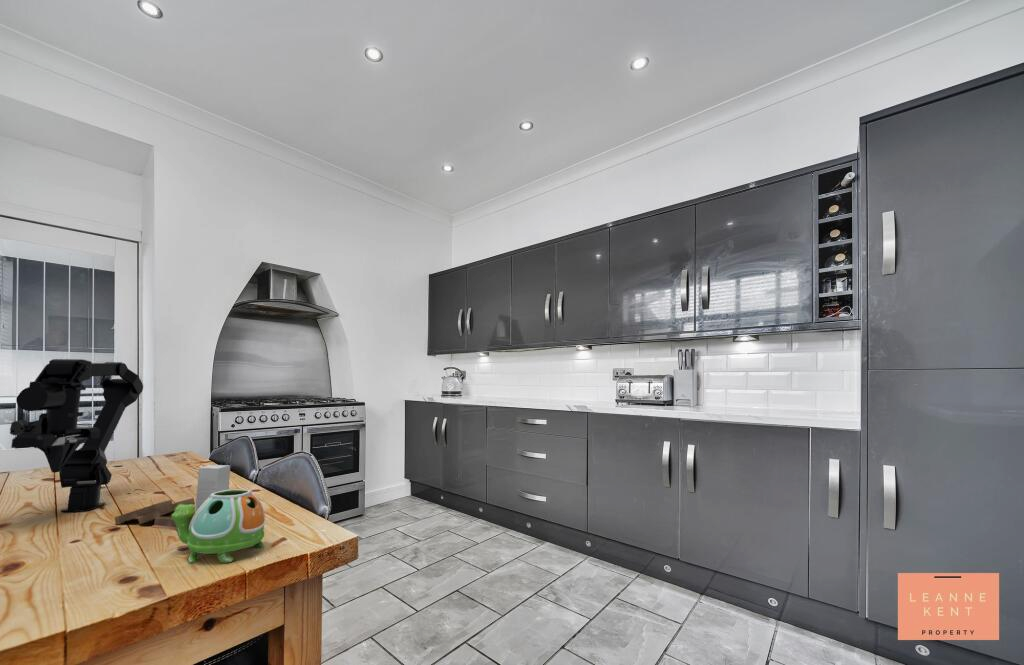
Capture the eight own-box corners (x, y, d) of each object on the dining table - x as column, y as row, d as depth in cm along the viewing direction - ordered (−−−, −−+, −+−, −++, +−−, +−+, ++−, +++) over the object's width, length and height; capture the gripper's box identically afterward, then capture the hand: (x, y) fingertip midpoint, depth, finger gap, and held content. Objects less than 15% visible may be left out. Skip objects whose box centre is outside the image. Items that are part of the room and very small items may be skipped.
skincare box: (228, 510, 116) (231, 465, 118) (215, 515, 112) (219, 468, 113) (207, 510, 117) (210, 464, 118) (194, 514, 113) (197, 467, 114)
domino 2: (138, 517, 104) (177, 501, 104) (155, 512, 109) (193, 497, 109) (139, 524, 104) (179, 508, 104) (157, 519, 109) (195, 504, 109)
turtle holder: (196, 540, 95) (201, 484, 96) (276, 542, 94) (280, 485, 95) (145, 564, 82) (151, 499, 84) (237, 566, 81) (241, 501, 83)
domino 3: (154, 517, 103) (187, 521, 101) (175, 511, 108) (207, 515, 106) (154, 524, 103) (187, 528, 101) (175, 518, 108) (207, 521, 105)
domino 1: (114, 517, 105) (155, 503, 105) (132, 512, 110) (171, 499, 110) (115, 524, 105) (156, 510, 105) (133, 518, 109) (172, 505, 110)
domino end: (152, 525, 103) (189, 527, 101) (171, 518, 108) (207, 520, 106) (151, 532, 103) (189, 534, 101) (171, 525, 107) (207, 527, 106)
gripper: (57, 407, 117) (50, 466, 115) (-13, 411, 99) (-22, 482, 97) (104, 406, 119) (98, 464, 117) (44, 411, 101) (36, 480, 99)
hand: (55, 472), depth 108 cm, fingers closed
